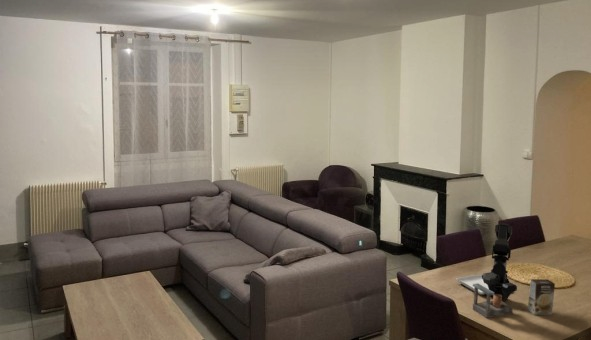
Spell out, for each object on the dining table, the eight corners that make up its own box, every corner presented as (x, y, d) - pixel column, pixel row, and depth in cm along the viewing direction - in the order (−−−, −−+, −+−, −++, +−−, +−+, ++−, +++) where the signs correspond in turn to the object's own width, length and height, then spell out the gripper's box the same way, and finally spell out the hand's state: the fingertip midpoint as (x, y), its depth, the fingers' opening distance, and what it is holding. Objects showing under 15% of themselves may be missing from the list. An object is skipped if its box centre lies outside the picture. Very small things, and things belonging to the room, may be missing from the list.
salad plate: (512, 292, 270) (512, 286, 269) (480, 298, 262) (481, 292, 262) (484, 278, 289) (484, 273, 289) (454, 283, 282) (455, 278, 281)
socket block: (496, 304, 254) (498, 280, 251) (513, 314, 242) (515, 289, 240) (471, 308, 249) (472, 284, 247) (487, 318, 238) (489, 293, 235)
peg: (497, 308, 249) (498, 293, 248) (502, 311, 245) (503, 296, 244) (490, 309, 248) (491, 294, 246) (496, 313, 244) (497, 297, 243)
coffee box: (534, 315, 241) (536, 284, 239) (527, 309, 248) (529, 279, 245) (552, 315, 242) (555, 283, 239) (545, 309, 248) (548, 278, 245)
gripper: (473, 263, 249) (471, 293, 252) (499, 276, 232) (497, 308, 234) (492, 261, 252) (490, 290, 255) (518, 274, 235) (516, 305, 237)
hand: (497, 298), depth 245 cm, fingers open, 9 cm apart
